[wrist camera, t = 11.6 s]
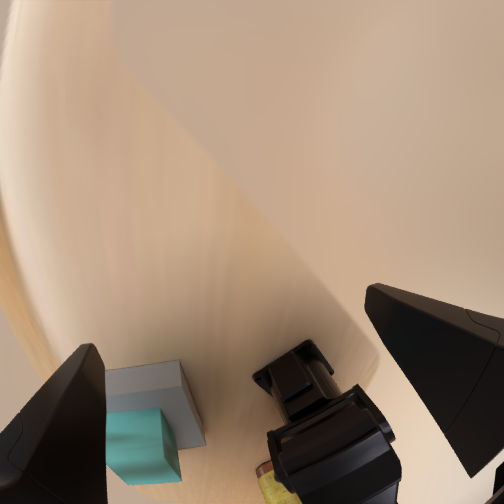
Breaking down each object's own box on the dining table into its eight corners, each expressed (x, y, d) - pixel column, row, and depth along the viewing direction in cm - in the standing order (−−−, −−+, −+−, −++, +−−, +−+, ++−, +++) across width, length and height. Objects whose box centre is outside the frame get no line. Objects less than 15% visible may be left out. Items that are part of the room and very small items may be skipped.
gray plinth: (202, 423, 28) (206, 445, 25) (115, 433, 26) (114, 455, 23) (178, 359, 24) (181, 385, 21) (74, 373, 22) (69, 397, 19)
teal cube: (175, 437, 24) (182, 481, 19) (127, 442, 23) (128, 485, 18) (160, 407, 22) (164, 457, 17) (106, 413, 21) (103, 461, 16)
